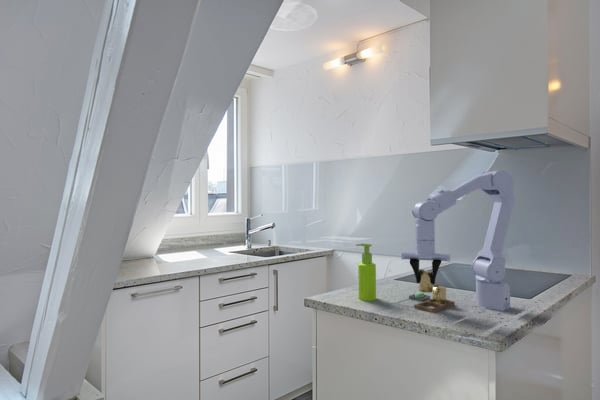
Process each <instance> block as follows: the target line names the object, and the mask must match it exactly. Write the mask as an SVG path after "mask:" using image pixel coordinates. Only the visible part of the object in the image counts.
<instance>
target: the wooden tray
mask: <svg viewBox="0 0 600 400" xmlns="http://www.w3.org/2000/svg"><path fill="white" fill-rule="evenodd" d="M413 306H414V307H413V309H415V310H421V311H422V312H424V311H425V312H428V313H432V314H436V313H437V312H439V311H443V310H445V309H447V308H450V307H453V306H455V301H454V300H450V299H446V304H438V303H433V298H430V299H429V300H426V301H423V302H417V303H416V304H414V305H413Z"/></svg>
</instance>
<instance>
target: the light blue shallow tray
mask: <svg viewBox="0 0 600 400" xmlns="http://www.w3.org/2000/svg"><path fill="white" fill-rule="evenodd" d="M405 301H414V302H417V303H421V301H417V300H412V299H409V298H405V299H402V300H398V301H396V302H393V304H395V305H399V306H403V307H408V308H414V305H407V304H401V303H402V302H405Z"/></svg>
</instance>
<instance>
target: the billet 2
mask: <svg viewBox="0 0 600 400" xmlns="http://www.w3.org/2000/svg"><path fill="white" fill-rule="evenodd" d="M432 299H433V303H438V304H446V300H447V287H446V286H444V285H443V286H442V285H441V286H440V285H439V284H436V283H435V284H433V292H432Z"/></svg>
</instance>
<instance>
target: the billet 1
mask: <svg viewBox="0 0 600 400" xmlns="http://www.w3.org/2000/svg"><path fill="white" fill-rule="evenodd" d="M432 275H433V272H432V271H429V270H425V269H422V268H421V269H420V268H419V283H418V284H419V285H418V289H419V291H418V292H422V293H433V285H434V284H432Z"/></svg>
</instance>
